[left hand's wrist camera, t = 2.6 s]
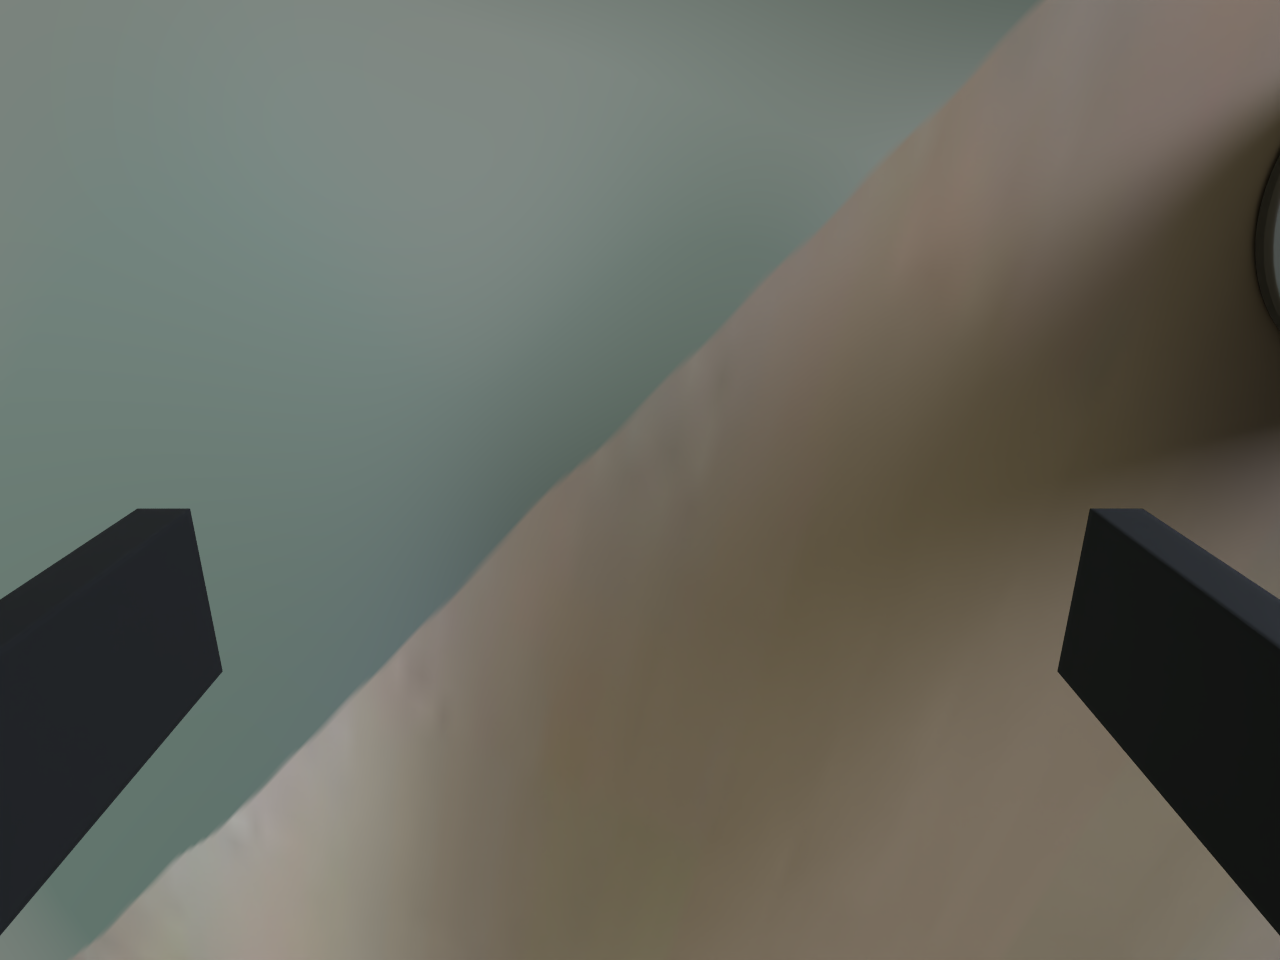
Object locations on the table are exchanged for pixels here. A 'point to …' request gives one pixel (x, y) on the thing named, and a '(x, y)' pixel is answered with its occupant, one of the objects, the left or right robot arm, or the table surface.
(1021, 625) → the table surface
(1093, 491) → the table surface
